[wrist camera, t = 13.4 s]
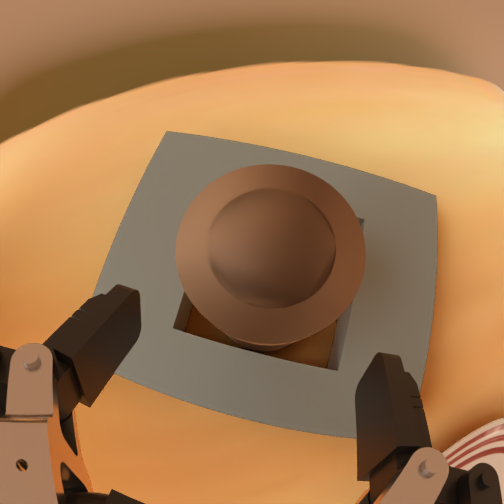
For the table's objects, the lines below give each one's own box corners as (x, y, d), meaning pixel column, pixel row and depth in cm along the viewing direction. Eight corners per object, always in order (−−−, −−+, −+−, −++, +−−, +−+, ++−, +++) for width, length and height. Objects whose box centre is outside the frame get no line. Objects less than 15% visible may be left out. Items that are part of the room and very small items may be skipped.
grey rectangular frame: (96, 356, 19) (75, 354, 16) (174, 153, 25) (166, 131, 22) (388, 433, 17) (406, 441, 14) (420, 212, 23) (436, 195, 20)
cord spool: (204, 337, 20) (149, 311, 9) (230, 248, 22) (210, 150, 12) (299, 361, 19) (347, 362, 9) (319, 270, 21) (372, 187, 11)
